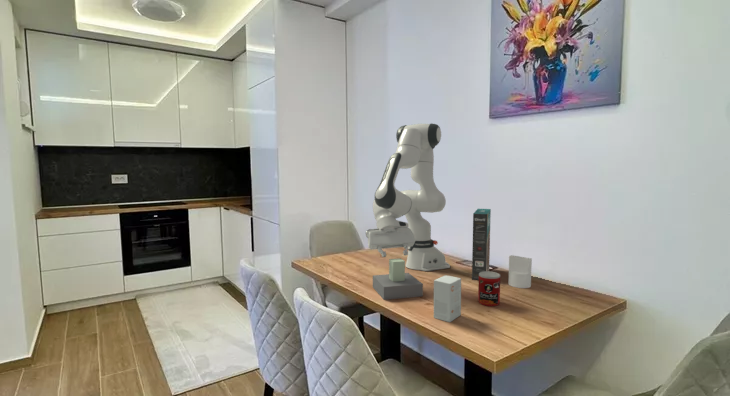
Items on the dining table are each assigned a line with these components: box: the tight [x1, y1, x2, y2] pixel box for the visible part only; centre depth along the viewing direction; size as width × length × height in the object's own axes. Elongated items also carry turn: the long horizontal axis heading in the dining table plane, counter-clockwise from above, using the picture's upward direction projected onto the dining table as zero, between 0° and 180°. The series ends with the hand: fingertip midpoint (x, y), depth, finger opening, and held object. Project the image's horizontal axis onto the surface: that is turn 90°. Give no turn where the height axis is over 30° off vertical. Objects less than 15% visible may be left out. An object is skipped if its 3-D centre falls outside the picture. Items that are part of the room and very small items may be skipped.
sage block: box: [388, 257, 406, 282], centre depth 154 cm, size 5×5×8 cm
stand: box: [372, 272, 424, 301], centre depth 154 cm, size 16×16×5 cm
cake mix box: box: [471, 208, 492, 281], centre depth 178 cm, size 22×6×30 cm, turn 158°
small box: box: [433, 274, 462, 323], centre depth 128 cm, size 8×6×13 cm
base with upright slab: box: [507, 254, 533, 289], centre depth 163 cm, size 9×9×12 cm
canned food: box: [477, 270, 501, 307], centre depth 141 cm, size 8×8×11 cm
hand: (395, 255), depth 157 cm, fingers open, 8 cm apart
